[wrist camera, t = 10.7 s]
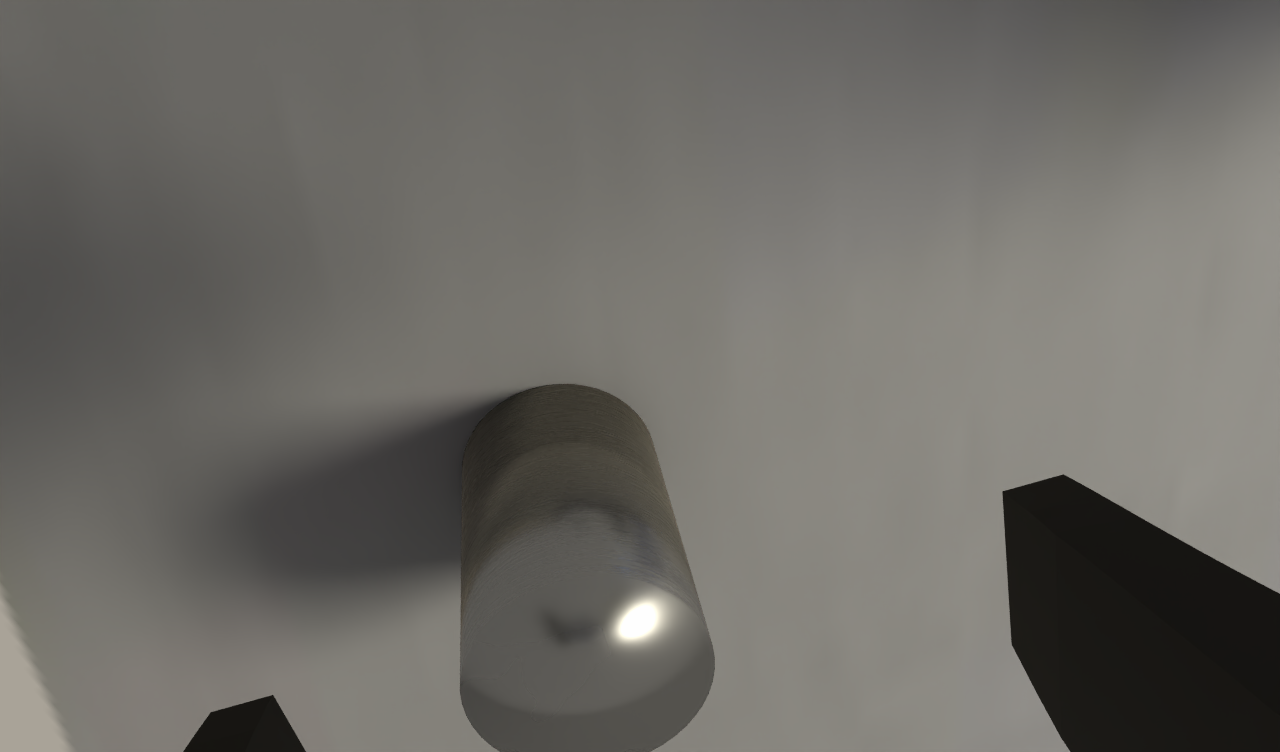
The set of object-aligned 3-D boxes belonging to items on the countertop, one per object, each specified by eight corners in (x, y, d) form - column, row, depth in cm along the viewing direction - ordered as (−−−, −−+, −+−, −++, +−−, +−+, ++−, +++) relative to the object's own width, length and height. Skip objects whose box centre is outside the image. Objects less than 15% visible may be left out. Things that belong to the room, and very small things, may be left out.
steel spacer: (630, 360, 20) (686, 548, 15) (673, 516, 22) (735, 730, 17) (435, 416, 20) (423, 623, 15) (495, 567, 22) (504, 796, 17)
